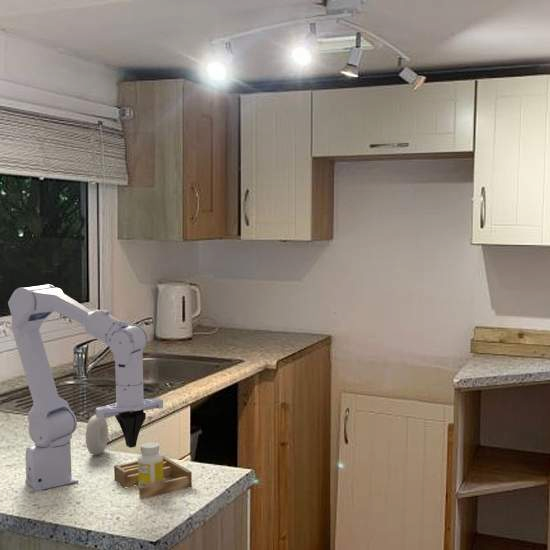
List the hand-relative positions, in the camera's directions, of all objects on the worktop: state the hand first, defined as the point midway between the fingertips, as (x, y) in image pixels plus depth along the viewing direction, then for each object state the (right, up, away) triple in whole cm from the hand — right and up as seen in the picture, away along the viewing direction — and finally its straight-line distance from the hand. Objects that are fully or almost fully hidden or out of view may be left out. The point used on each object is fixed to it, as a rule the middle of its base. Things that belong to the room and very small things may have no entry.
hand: (131, 446), depth 159 cm
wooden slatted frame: (+4, -10, +6) cm, 12 cm away
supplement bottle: (+4, -10, +3) cm, 11 cm away
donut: (-14, -9, +27) cm, 32 cm away
